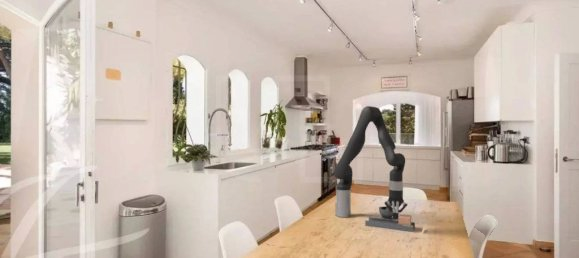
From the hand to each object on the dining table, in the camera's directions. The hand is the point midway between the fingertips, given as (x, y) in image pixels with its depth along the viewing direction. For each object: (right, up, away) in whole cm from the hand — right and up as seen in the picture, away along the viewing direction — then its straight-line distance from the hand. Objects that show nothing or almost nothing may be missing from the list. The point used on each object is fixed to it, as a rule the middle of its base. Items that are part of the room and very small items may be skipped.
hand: (395, 219), depth 194 cm
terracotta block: (+5, -5, -2) cm, 7 cm away
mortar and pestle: (+1, -6, +21) cm, 22 cm away
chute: (-3, -6, +2) cm, 7 cm away
